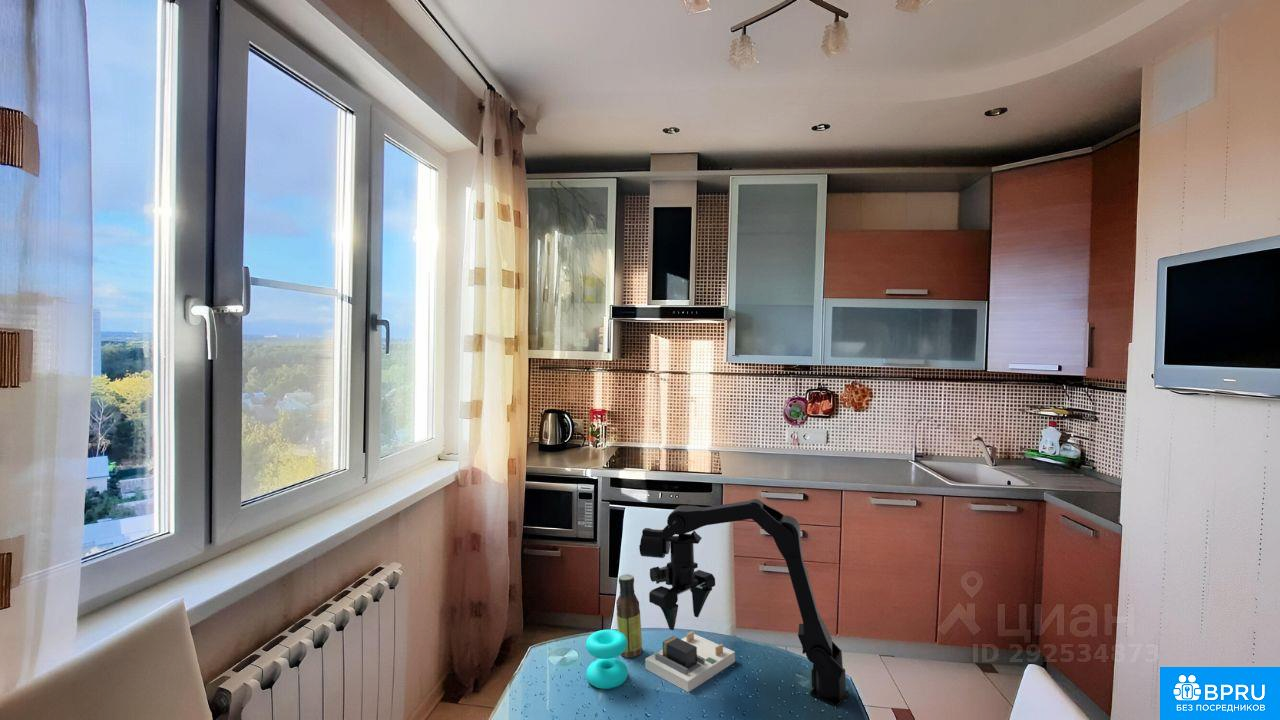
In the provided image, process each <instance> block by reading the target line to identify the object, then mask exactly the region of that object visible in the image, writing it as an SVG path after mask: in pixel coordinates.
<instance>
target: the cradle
mask: <svg viewBox="0 0 1280 720" xmlns="http://www.w3.org/2000/svg"><path fill="white" fill-rule="evenodd" d="M680 639H681V640H683V641H685V642H687V643H689V644H691V645H694V646H696V647H697V664H696V665H694V666H692V667H691V668H689V669H688V668H686V667H684V666H682V665H680V664H678V663H676V662H674V661H672V660H670V659H668V658H666V657H664V656H663V648H662V649H660V650H658V651H657V652H655V653H653V654H651V655H649V656H648V657H646V658H645V659H644V661H645V670H647V671H649V672H651V673H652V674H654V675H656V676H658V677H659V678H661V679H663V680H666V682H669V683H670V684H673V685H675V686H676V687H678V688H679V689H682V690H683V691H685V692H687V693H690V692H691V691H692V690H694V689H696V688H697V687H699V686H700V685H702V684H703V683H705V682H706V681H708V680H710V679H711V678H713V677H715V676H716V675H717V674H718V673H720V672H722V671H723V670H725V669H726V668H728V667H729V666H731V665H732V664H734V663H735V662H736V651H734V650H732V649H729V648H727V647H725V646H724V645H723V643H720V644H718V643H716V642H713V641H712V640H709V639H707V638H704V637H702V636H700V635H698V634H696V633H695V632H694V631H693V630H692V631H690V632H688V633H687V634H686V636H685V637H683V638H680Z"/></svg>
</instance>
